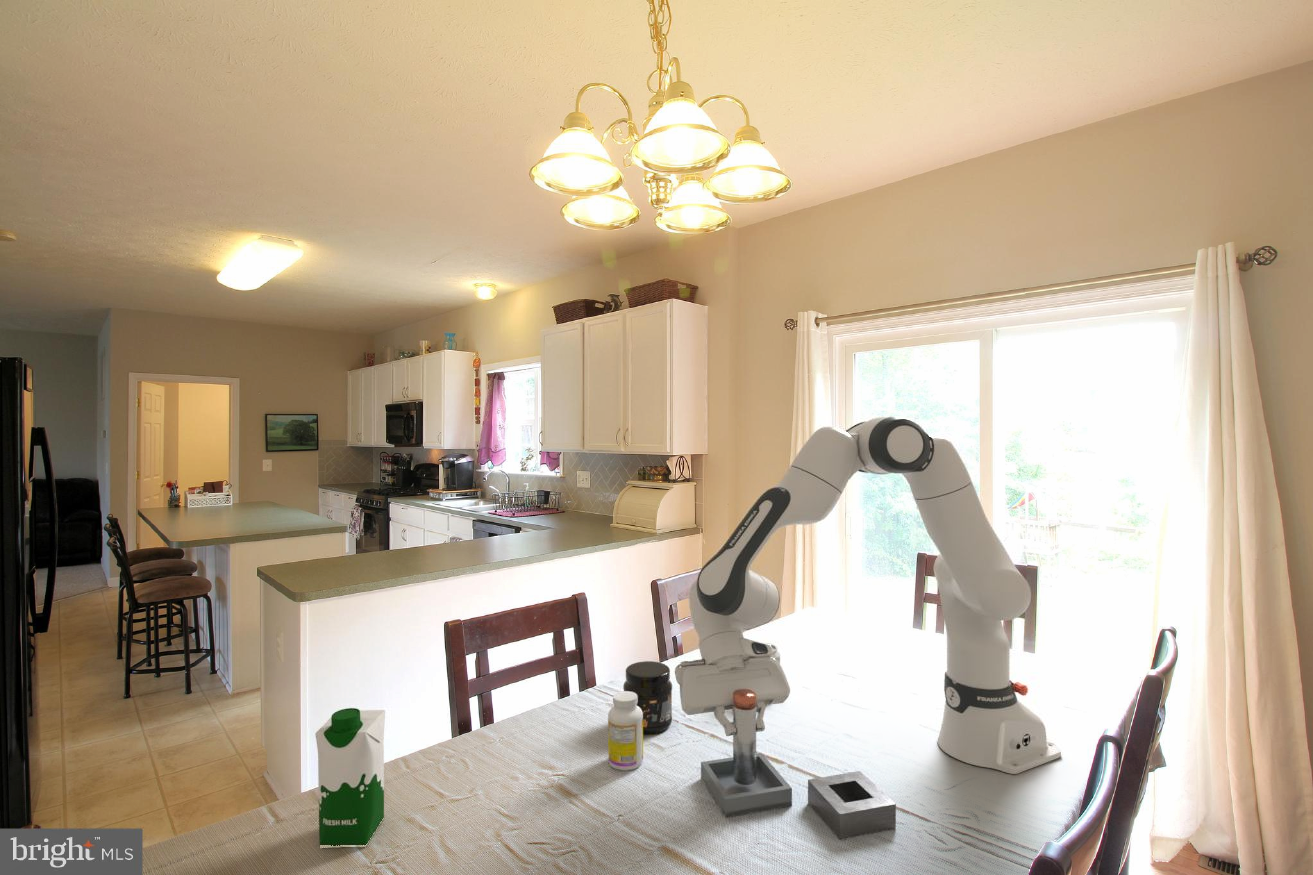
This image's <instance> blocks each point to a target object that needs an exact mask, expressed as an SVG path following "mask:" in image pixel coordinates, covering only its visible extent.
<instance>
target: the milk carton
mask: <svg viewBox="0 0 1313 875" xmlns="http://www.w3.org/2000/svg"><path fill="white" fill-rule="evenodd" d="M385 719H386V709H371V710H370V709H367V710H366V709H361V710H360V709H358V708H356V707H348V708H343V709H339V710H337V711H335V712H334V713H332V714H331V717H330V718H328V720H327V721H326V722H325V723H324V724H322V726H321V727H320V728H319V729H318V730H317V731H316V732H315V734H314V735H315V740H316V748H317V759H318V761H317V763H318V764H317V767H318V768H317V770H318V771H317V773H318V778H317V780H318V782H317V783H318V834H319V839H318V840H319V846H320V845H331V846H332V845H333V846H336V845H337V846H338V845H339V846H340V845H366V844H367V843H368V841H369V840H370V838H371V837H372V835H373V833H374V832H375V831H376V829H377V827H378V826H379V824H380V822H381V821H382V819H383V818H384V819H385V756H384V755H385V748H384V747H385V746H384V735H385ZM382 822H383V821H382ZM380 825H381V824H380ZM379 827H380V826H379ZM377 830H378V829H377ZM376 832H377V831H376ZM376 832H375V833H376ZM373 836H374V835H373ZM372 838H373V837H372ZM372 838H371V839H372ZM370 841H371V840H370ZM368 844H369V843H368Z"/></svg>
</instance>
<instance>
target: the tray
mask: <svg viewBox="0 0 1313 875" xmlns="http://www.w3.org/2000/svg"><path fill="white" fill-rule="evenodd" d="M700 780H701V781H702V782H703V784H704V786H705V787H706V789H707V790H708V792H709V793H710V795H711V797H712V799H713V800H714V802H715V803H716V805H717V807H718V808H719V810H720V811H721V813H722V815H723V816H724V818H731V817H736V816H742V815H747V814H752V813H758V812H765V811H770V810H775V809H780V808H787V807H792V806H793V787H792V786H791V785H790V784H789V783H788V782H787V780H785V778H784V777H783V776H782V775H781V774H780V772H779V771H778V770H777V769H776V768H775V767H774V766H773V764H772V763H771V762H770V761H769V759H768V758H766V756H765V755H764V753H762V752H758V753H756V782H755V783H753V784H751V785H741V784H738V783H736V782H735V781H734V780H733V756H731V757H725V758H718V759H713V760H712V759H711V760H706V761H705V760H704V761H701V762H700Z"/></svg>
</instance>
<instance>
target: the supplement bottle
mask: <svg viewBox="0 0 1313 875" xmlns="http://www.w3.org/2000/svg"><path fill="white" fill-rule="evenodd" d="M637 702H638V696H637V694H636V693H634V692H630V691H624V690H623V691H617V692H616V693H614V694H613V696H612V704H613V707H611V708H610V710H608V714H607V725H608V727H607V728H608V731H607V732H608V733H607V734H608V735H607V737H608V741H607V742H608V746H607V747H608V763H609V765H610V766H611V767H612V768H613V769H616V770H619V771H632V770H635V769H637V768H639V767H641V765H642V763H643V762H644V734H643V712H642V710H641V709H640V707H638V706H637Z"/></svg>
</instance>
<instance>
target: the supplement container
mask: <svg viewBox="0 0 1313 875" xmlns="http://www.w3.org/2000/svg"><path fill="white" fill-rule="evenodd" d="M670 678H671V669H670V667H669V666H668V665H667V664H665V663H662V662H660V661H659V662H658V661H650V660H647V661H645V660H644V661H638V662H634V663H632V664H629V665H628V666H627V667H626V668H625V681H624V683H623V686H622V687H623V691H630V692H634V693H636V694H637V696H638V702H637V706H638V707H640V709H641V710H642V712H643V735H653V734H658V733H661V732H662V733H663V731H666V730H667V729H668V728H669V727H671V725H672V722H673V716H672V715H673V711H672V710H673V709H672V708H673V706H672V705H673V698H672V696H673V694H672V691H673V683H672V681H671V680H670Z"/></svg>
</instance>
